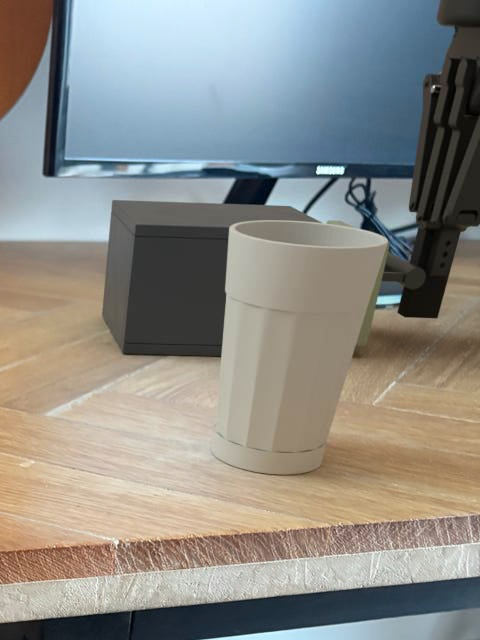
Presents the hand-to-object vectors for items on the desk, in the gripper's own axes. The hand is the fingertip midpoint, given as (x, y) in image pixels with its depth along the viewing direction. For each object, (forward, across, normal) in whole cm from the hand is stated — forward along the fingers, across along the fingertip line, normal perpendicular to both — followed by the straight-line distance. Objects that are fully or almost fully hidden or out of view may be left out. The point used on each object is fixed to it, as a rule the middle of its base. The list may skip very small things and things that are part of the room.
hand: (417, 315), depth 80 cm
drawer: (+1, 0, -10) cm, 10 cm away
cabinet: (+2, 0, -17) cm, 17 cm away
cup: (+2, +26, -19) cm, 32 cm away
